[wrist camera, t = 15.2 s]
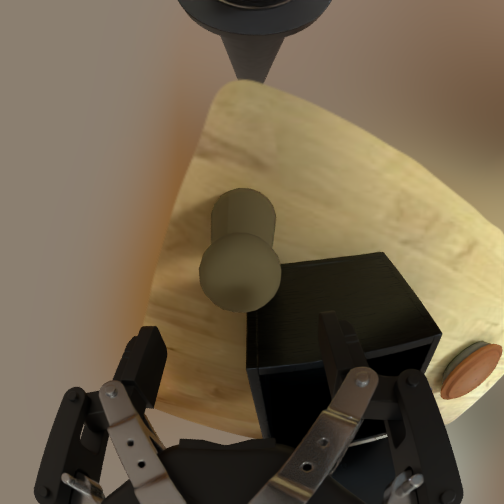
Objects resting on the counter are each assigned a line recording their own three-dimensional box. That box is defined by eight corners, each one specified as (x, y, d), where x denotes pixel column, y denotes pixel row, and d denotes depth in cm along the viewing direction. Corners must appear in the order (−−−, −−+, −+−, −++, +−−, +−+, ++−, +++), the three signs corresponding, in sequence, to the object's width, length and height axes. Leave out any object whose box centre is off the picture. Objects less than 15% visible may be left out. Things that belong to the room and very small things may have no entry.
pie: (419, 387, 42) (428, 407, 37) (471, 329, 35) (484, 348, 30) (460, 385, 44) (468, 401, 40) (503, 335, 37) (514, 351, 33)
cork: (278, 245, 27) (292, 322, 18) (216, 251, 28) (200, 329, 18) (272, 184, 25) (288, 236, 15) (205, 192, 25) (176, 249, 15)
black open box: (247, 267, 29) (246, 369, 17) (383, 251, 28) (442, 333, 16) (264, 373, 37) (267, 455, 26) (364, 359, 36) (389, 433, 25)
